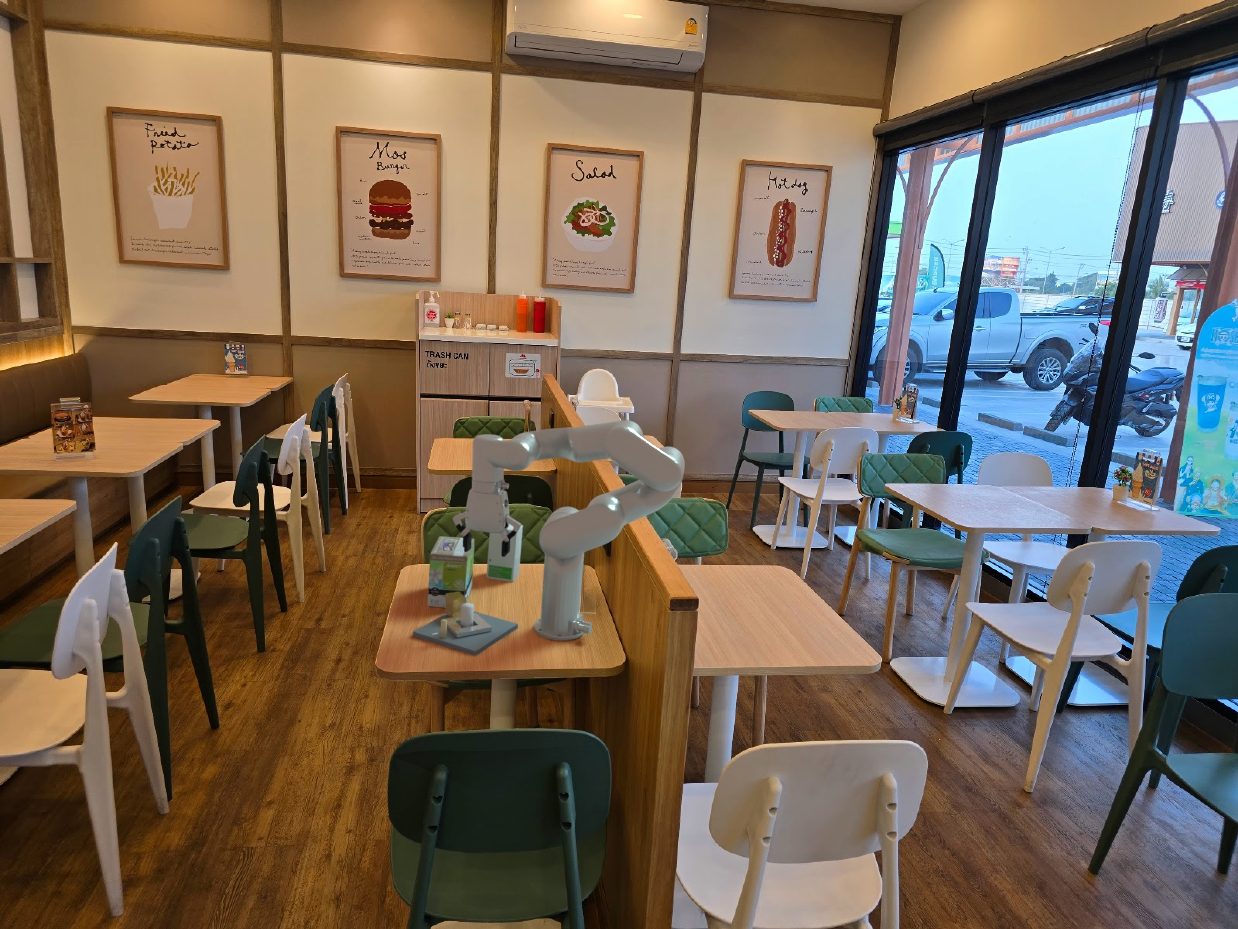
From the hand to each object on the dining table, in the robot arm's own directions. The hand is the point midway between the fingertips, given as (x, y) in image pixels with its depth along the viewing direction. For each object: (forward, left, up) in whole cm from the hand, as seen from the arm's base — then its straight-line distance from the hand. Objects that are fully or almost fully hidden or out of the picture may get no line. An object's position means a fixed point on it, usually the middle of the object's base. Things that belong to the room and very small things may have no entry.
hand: (486, 552), depth 202 cm
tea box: (+16, -8, -19) cm, 25 cm away
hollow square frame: (+2, +7, -17) cm, 18 cm away
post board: (0, +8, -18) cm, 20 cm away
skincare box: (+13, -28, -18) cm, 36 cm away
